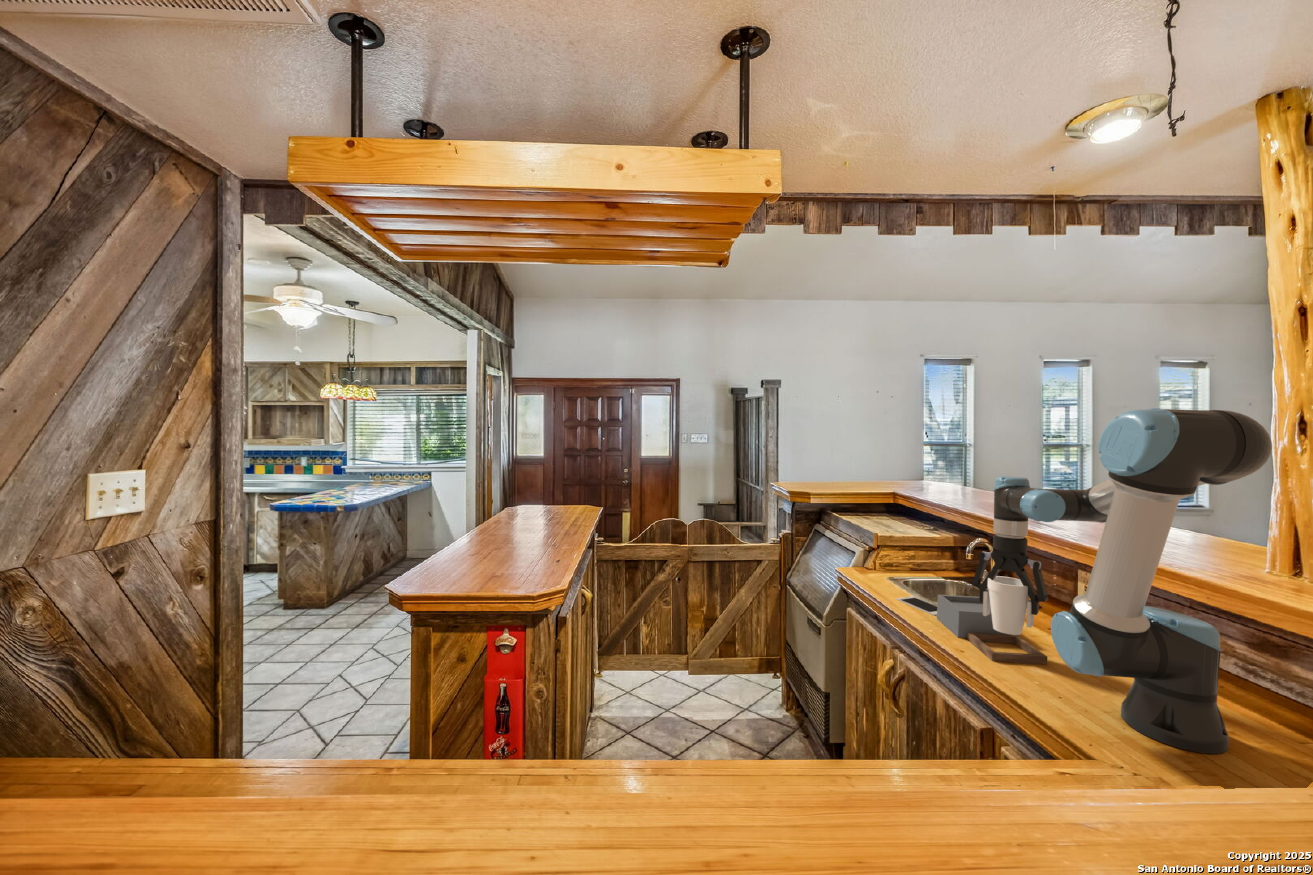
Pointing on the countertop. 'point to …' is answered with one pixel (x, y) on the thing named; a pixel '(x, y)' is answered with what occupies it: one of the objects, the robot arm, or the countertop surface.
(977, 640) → the walnut collar
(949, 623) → the charcoal stand
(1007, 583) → the foam cup
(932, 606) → the smartphone
